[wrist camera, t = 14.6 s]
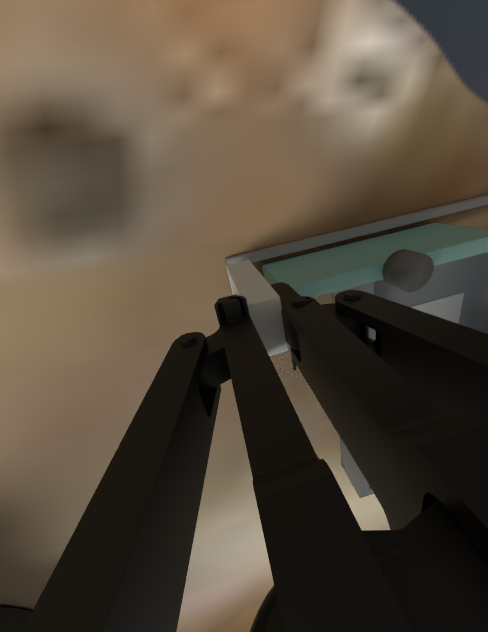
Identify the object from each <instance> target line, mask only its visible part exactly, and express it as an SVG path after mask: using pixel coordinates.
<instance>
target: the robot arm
mask: <svg viewBox="0 0 488 632" xmlns="http://www.w3.org/2000/svg"><path fill="white" fill-rule="evenodd" d="M226 268H227V272H228V276H229V281H230V285H231V289H232V293H233V295H232V296H228V297H224V298H220V299H218V300H217V302H216V303H215V306H214V307H215V310H216V314H217V317H218V321H219V325H220V327H219V329H218V330H217V331H216V332H215V333H214V334H212V335H210V336H208V337H206V338H205V335H204V334H202V333H199V332H192V333H187V334H184V335H182V336H180V337H179V338H178V339H176V340H175V341H174V342H173V344H172V346H171V347H170V349H169V351H168V353H167V355H166V357H165V359H164V361H163V363H162V365H161V367H160V368H159V370H158V372H157V374H156V376H155V378H154V380H153V382H152V384H151V386H150V388H149V390H148V391H147V393H146V395H145V397H144V399H143V401H142V403H141V405H140V407H139V409H138V411H137V413H136V414H135V416H134V418H133V420H132V422H131V424H130V426H129V428H128V430H127V432H126V434H125V435H124V437H123V439H122V441H121V443H120V445H119V447H118V449H117V451H116V453H115V455H114V457H113V458H112V460H111V462H110V464H109V466H108V468H107V470H106V472H105V474H104V476H103V478H102V479H101V481H100V483H99V485H98V487H97V489H96V491H95V493H94V495H93V497H92V499H91V501H90V502H89V504H88V506H87V508H86V510H85V512H84V514H83V516H82V518H81V520H80V522H79V523H78V525H77V527H76V529H75V531H74V533H73V535H72V537H71V539H70V541H69V543H68V545H67V546H66V548H65V550H64V552H63V554H62V556H61V558H60V560H59V562H58V564H57V566H56V568H55V569H54V571H53V573H52V575H51V577H50V579H49V581H48V583H47V585H46V587H45V589H44V590H43V592H42V594H41V596H40V598H39V600H38V602H37V604H36V606H35V608H34V610H33V612H31V611H27V610H23V609H17V608H8V607H0V632H176V630H177V625H178V619H179V614H180V609H181V603H182V598H183V592H184V587H185V582H186V576H187V571H188V565H189V560H190V555H191V549H192V544H193V538H194V533H195V528H196V522H197V517H198V511H199V506H200V501H201V495H202V490H203V484H204V479H205V474H206V468H207V463H208V457H209V452H210V447H211V441H212V436H213V430H214V425H215V420H216V414H217V409H218V403H219V398H220V393H221V386H220V384H222V383H224V382H226V381H227V380H229V379H232V384H233V389H234V393H235V398H236V402H237V407H238V411H239V416H240V420H241V425H242V430H243V434H244V439H245V443H246V448H247V452H248V457H249V461H250V466H251V471H252V475H253V486H254V491H255V496H256V501H257V506H258V510H259V515H260V520H261V524H262V529H263V534H264V538H265V543H266V548H267V552H268V557H269V562H270V566H271V571H272V576H273V580H274V586H273V587H272V589H271V590H270V591H269V593H268V594H267V596H266V597H265V599H264V601H263V603H262V605H261V607H260V608H259V610H258V612H257V615H256V617H255V620H254V622H253V624H252V627H251V629H250V632H488V334H486V333H484V332H481V331H478V330H475V329H472V328H469V327H466V326H463V325H460V324H457V323H454V322H451V321H449V320H446V319H443V318H440V317H437V316H434V315H431V314H428V313H425V312H422V311H419V310H417V309H414V308H411V307H408V306H405V305H402V304H399V303H396V302H393V301H390V300H387V299H385V298H382V297H379V296H376V295H373V294H370V293H367V292H364V291H360V290H345V291H343V292H340V293H338V294H336V296H335V303H333V304H322V305H320V304H319V303H318V302H317V301H316V300H315V299H313V298H312V297H309V296H300V295H299V294H298V293H297V292H296V291H295V290H294V289H293V288H292V287H291V286H290V285H289V284H286V283H283V282H279V283H275V284H272V285H270V284H269V283H268V282H267V281H266V280H265V278H264V277H263V276H262V275H261V274H260V272H259V271H258V270H257V269H256V268H255V266H254V265H253V264H252V263H251V262H250V261H249V260H246V261H242V262H238V263H234V264H230V265H226ZM369 327H370V328H372V329H374V330H375V331H376V338H375V340H372V339H370V338H369ZM287 342H288V344H289V345H290V349H291V356H292V363H293V369H294V370H296V365H297V366H298V368H299V369H300V371H301V373H302V374H303V376H304V378H305V379H306V381H307V383H308V384H309V386H310V388H311V389H312V391H313V393H314V394H315V396H316V398H317V399H318V401H319V403H320V404H321V406H322V408H323V409H324V411H325V413H326V414H327V416H328V418H329V419H330V421H331V422H332V424H333V426H334V427H335V429H336V431H337V432H338V434H339V436H340V437H341V439H342V441H343V442H344V444H345V446H346V447H347V449H348V451H349V452H350V454H351V456H352V457H353V459H354V461H355V462H356V464H357V466H358V467H359V469H360V471H361V472H362V474H363V476H364V477H365V479H366V480H367V482H368V484H369V485H370V487H371V489H372V490H373V492H374V494H375V495H376V497H377V499H378V500H379V502H380V504H381V506H382V508H383V509H384V512H385V514H386V517H387V520H388V523H389V526H390V529H391V530H373V531H361V529H360V527H359V525H358V523H357V521H356V519H355V517H354V515H353V513H352V511H351V509H350V507H349V505H348V503H347V501H346V499H345V497H344V495H343V493H342V491H341V489H340V487H339V485H338V483H337V481H336V479H335V477H334V475H333V473H332V471H331V470H330V468H329V466H328V464H327V463H326V462H325V461H324V459H319V458H318V457H317V455H316V453H315V451H314V449H313V447H312V445H311V443H310V441H309V439H308V437H307V435H306V432H305V430H304V428H303V426H302V424H301V422H300V420H299V418H298V416H297V414H296V411H295V409H294V407H293V405H292V403H291V401H290V399H289V397H288V395H287V393H286V391H285V388H284V386H283V384H282V382H281V380H280V378H279V376H278V374H277V372H276V370H275V368H274V365H273V363H272V361H271V359H270V357H269V356H272V355H276V354H280V353H283V352H287V351H288V347H287Z"/></svg>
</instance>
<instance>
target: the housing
mask: <svg viewBox="0 0 488 632" xmlns="http://www.w3.org/2000/svg"><path fill="white" fill-rule="evenodd" d="M484 205H488V194H487V195H483V196H479V197H475V198H471V199H467V200H463V201H459V202H454V203H450V204H446V205H442V206H438V207H434V208H430V209H426V210H422V211H417V212H413V213H409V214H405V215H401V216H397V217H393V218H389V219H385V220H380V221H376V222H372V223H368V224H364V225H360V226H356V227H352V228H348V229H343V230H339V231H335V232H331V233H327V234H323V235H319V236H315V237H311V238H306V239H302V240H298V241H294V242H290V243H286V244H282V245H278V246H274V247H269V248H265V249H261V250H257V251H253V252H249V253H245V254H241V255H236V256H232V257H228V258H225V260H226V264H227V265H230V264H234V263H238V262H242V261H246V260H249V261H250V262H251V263H253V262H257V261H261V260H265V259H269V258H273V257H277V256H281V255H286V254H290V253H294V252H298V251H302V250H306V249H310V248H314V247H318V246H322V245H326V244H330V243H334V242H338V241H342V240H346V239H350V238H355V237H359V236H363V235H367V234H371V233H375V232H379V231H383V230H387V229H391V228H395V227H399V226H403V225H407V224H411V223H415V222H419V221H424V220H428V219H432V218H436V217H440V216H444V215H448V214H452V213H456V212H460V211H464V210H468V209H472V208H476V207H480V206H484ZM345 290H360V291H364V292H367V293H370V294H373V295H376V296H379V297H382V298H385V299H387V300H390V301H393V302H396V303H399V304H402V305H405V306H408V307H411V308H414V309H417V310H419V311H422V312H425V313H428V314H431V315H434V316H437V317H440V318H443V319H446V320H449V321H451V322H454V323H457V324H460V325H463V326H466V327H469V328H472V329H475V330H478V331H481V332H484V333H486V334H488V252H486V253H482V254H478V255H474V256H471V257H467V258H463V259H459V260H455V261H451V262H448V263H444V264H440V265H436V266H434V270H433V274H432V276H431V278H430V280H429V281H428V282H427V284H426V285H425V286H423V287H422V288H421V289H419V290H417V291H414V292H405V291H403V290H401V289H399V288H396V287H394V286H392V285H390V284H388V283H387V282H385V280H384V279H383V280H379V281H375V282H371V283H367V284H363V285H360V286H356V287H352V288H348V289H344V290H340V291H337V292H333V303H335V296H336V294H338V293H340V292H343V291H345ZM369 338H370V339H372V340H375V338H376V331H375V330H374V329H372V328H370V327H369ZM340 441H341V461H342V467H343V469H344V470H345V472H346V474H347V476H348V478H349V479H350V481H351V483H352V485H353V487H354V488H355V490H356V492H357V494H358V496H359V498H361V497H365V496H368V495H371V494H374V492H373V490H372V489H371V487H370V485H369V484H368V482H367V480H366V479H365V477H364V476H363V474H362V472H361V471H360V469H359V467H358V466H357V464H356V462H355V461H354V459H353V457H352V456H351V454H350V452H349V451H348V449H347V447H346V446H345V444H344V442H343V441H342V439H341V437H340Z"/></svg>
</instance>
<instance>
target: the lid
mask: <svg viewBox="0 0 488 632" xmlns="http://www.w3.org/2000/svg"><path fill="white" fill-rule="evenodd" d="M486 252H488V229H480V228H473V227H465V226H457V225H450V224H442V223H431V224H427V225H423V226H419V227H415V228H411V229H407V230H402V231H398V232H394V233H390V234H386V235H382V236H378V237H374V238H370V239H366V240H362V241H358V242H354V243H350V244H346V245H342V246H338V247H334V248H330V249H326V250H322V251H318V252H314V253H310V254H306V255H302V256H298V257H294V258H289V259H285V260H281V261H277V262H273V263H269V264H265V265H262V268H263V274H264V278H265V279H266V280H267V282H268V283H269V284H270V285H272V284H275V283H279V282H283V283H286V284H289V285H290V286H291V287H292V288H293V289H294V290H295V291H296V292H297V293H298V294H299V295H300V296H309V297H312V298H314V297H317V296H321V295H325V294H329V293H333V292H337V291H340V290H344V289H348V288H352V287H356V286H360V285H363V284H367V283H371V282H375V281H379V280H383V279H384V280H385V282H387V283H388V284H390V285H392V286H394V287H396V288H399V289H401V290H403V291H405V292H414V291H417V290H419V289H421V288H422V287H423V286H425V285H426V284H427V282H428V281H429V280H430V278H431V276H432V274H433V270H434V266H436V265H440V264H444V263H448V262H451V261H455V260H459V259H463V258H467V257H471V256H474V255H478V254H482V253H486Z"/></svg>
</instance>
